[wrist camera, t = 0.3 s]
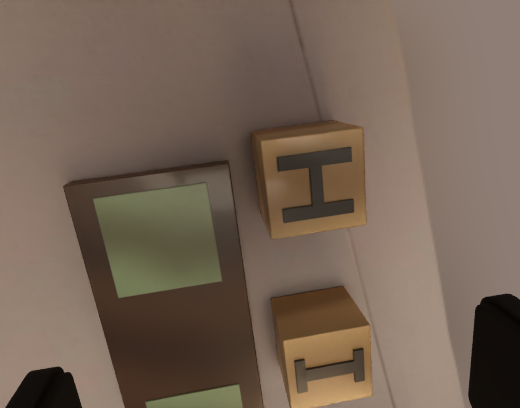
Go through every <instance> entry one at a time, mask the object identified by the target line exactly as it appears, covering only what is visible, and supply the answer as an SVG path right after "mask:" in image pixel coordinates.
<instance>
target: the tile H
mask: <svg viewBox="0 0 520 408" xmlns="http://www.w3.org/2000/svg"><path fill="white" fill-rule="evenodd" d="M251 141H252V149H253V157H254V165H255V174H256V182H257V190H258V198H259V207H260V213H261V215H262V218H263V220H264V222H265V225H266V227H267V230H268V232H269V235H270V237H271V239H278V238H284V237H291V236H297V235H304V234H310V233H316V232H323V231H329V230H336V229H342V228H348V227H355V226H361V225H366V193H365V163H364V133H363V127H360V126H356V125H351V124H347V123H343V122H339V121H335V120H331V121H324V122H316V123H308V124H301V125H293V126H286V127H278V128H270V129H263V130H255V131H251Z"/></svg>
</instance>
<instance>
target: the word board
mask: <svg viewBox="0 0 520 408" xmlns="http://www.w3.org/2000/svg"><path fill="white" fill-rule="evenodd" d="M63 188H64V192H65V195H66V199H67V202H68V206H69V209H70V213H71V217H72V220H73V224H74V227H75V231H76V234H77V238H78V242H79V245H80V249H81V252H82V256H83V259H84V263H85V267H86V270H87V274H88V277H89V281H90V284H91V288H92V292H93V295H94V299H95V302H96V306H97V309H98V313H99V317H100V320H101V324H102V327H103V331H104V334H105V338H106V342H107V345H108V349H109V352H110V356H111V359H112V363H113V367H114V370H115V374H116V377H117V381H118V384H119V388H120V392H121V395H122V399H123V402H124V406H125V408H263V401H262V394H261V387H260V380H259V373H258V366H257V359H256V352H255V345H254V338H253V331H252V324H251V317H250V310H249V303H248V296H247V289H246V282H245V275H244V268H243V261H242V254H241V246H240V239H239V232H238V225H237V218H236V211H235V204H234V197H233V190H232V183H231V176H230V169H229V163H228V161H219V162H212V163H205V164H197V165H190V166H183V167H176V168H168V169H161V170H154V171H146V172H139V173H132V174H125V175H117V176H110V177H103V178H95V179H88V180H81V181H73V182H69V183H67V184H66V185H64V186H63Z"/></svg>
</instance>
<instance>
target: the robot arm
mask: <svg viewBox="0 0 520 408" xmlns="http://www.w3.org/2000/svg"><path fill="white" fill-rule="evenodd" d="M468 396H469V401H470V404H471V406H472V408H520V300H519V299H518V298H517V297H515V296H513V295H511V294H502V295H496V296H490V297H485V298H483V299H482V300H481V303H480V305H478V306H477V307H476V310H475V319H474V331H473V344H472V357H471V368H470V380H469V392H468ZM6 408H82V406H81V402H80V399H79V396H78V392H77V389H76V386H75V383H74V379H73V376H72V374H71V373H70V372H66V373H64V371H63V369H62V368H61V367H53V368H46V369H40V370H34V371H31V372H29V373H28V374H27V375H26V377H25V378H24V380H23V381H22V383H21V384H20V386H19V387H18V389H17V391H16V392H15V394H14V395H13V397H12V398H11V400H10V401H9V403H8V404H7V406H6Z"/></svg>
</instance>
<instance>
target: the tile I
mask: <svg viewBox="0 0 520 408" xmlns="http://www.w3.org/2000/svg"><path fill="white" fill-rule="evenodd" d="M271 306H272V314H273V322H274V330H275V338H276V347H277V355H278V362H279V366H280V370H281V374H282V378H283V382H284V386H285V390H286V394H287V398H288V402H289V406H290V408H314V407H319V406H324V405H329V404H334V403H339V402H344V401H349V400H354V399H359V398H364V397H370V396H372V367H371V337H370V324H369V323H368V321H367V320H366V318H365V317H364V316H363V314H362V313H361V311H360V310H359V308H358V307H357V305H356V304H355V302H354V301H353V299H352V298H351V296H350V295H349V294H348V292H347V291H346V289H345V288H344V286H342V287H336V288H330V289H324V290H318V291H312V292H306V293H300V294H295V295H289V296H283V297H277V298H271Z"/></svg>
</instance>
